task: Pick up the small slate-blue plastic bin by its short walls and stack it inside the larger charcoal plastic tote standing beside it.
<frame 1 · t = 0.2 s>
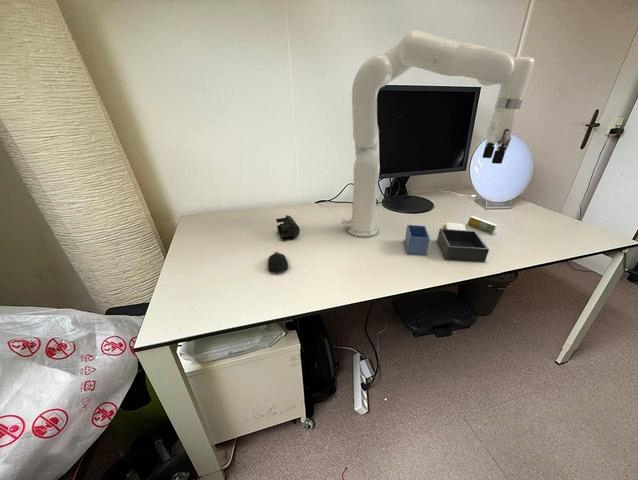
hand: (491, 160, 99), 31 cm above the table, tool pointing down, fingers open, 9 cm apart
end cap: (288, 235, 113), on the table
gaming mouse: (277, 263, 94), on the table
hard drive: (455, 232, 121), on the table
blue bin: (414, 247, 107), on the table
medication box: (480, 229, 124), on the table
tote: (459, 250, 106), on the table
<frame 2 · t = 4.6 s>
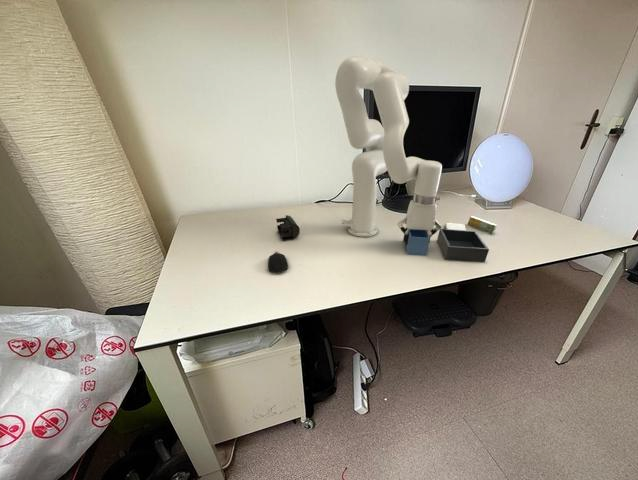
hand: (415, 243, 106), 2 cm above the table, tool pointing down, fingers closed on blue bin, 7 cm apart
blue bin: (415, 247, 107), on the table, touching gripper
everything else where it was.
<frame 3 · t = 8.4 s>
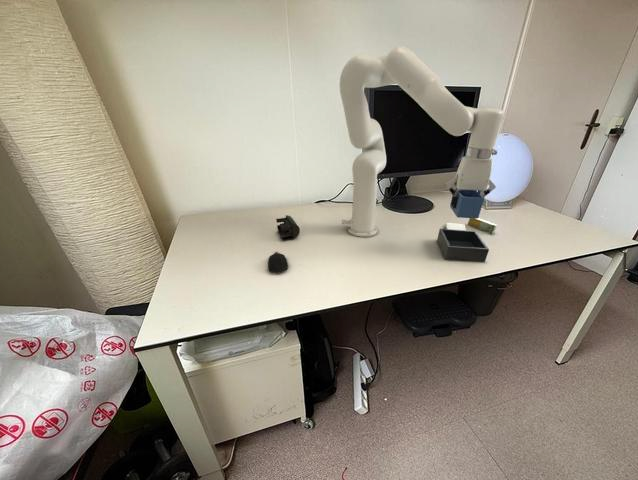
hand: (464, 207, 97), 17 cm above the table, tool pointing down, fingers closed on blue bin, 7 cm apart
blue bin: (463, 212, 98), point 15 cm above the table, touching gripper
everything else where it was.
when the fingers open (3 cm above the table, at t = 12.5 s): blue bin stays where it is, resting on tote.
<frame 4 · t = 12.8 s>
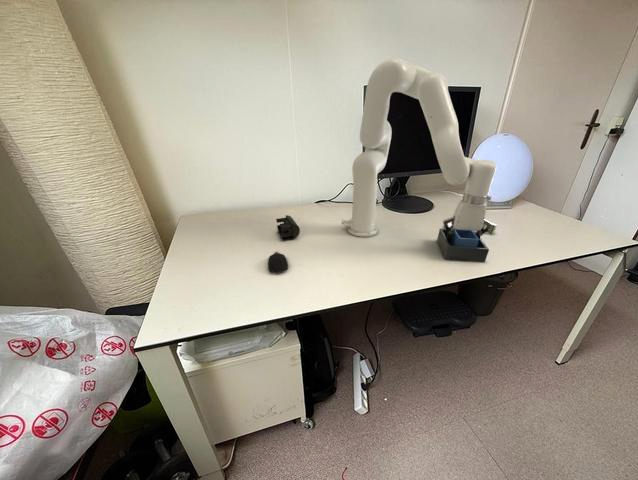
hand: (461, 242, 104), 3 cm above the table, tool pointing down, fingers open, 9 cm apart
blue bin: (460, 249, 106), point 1 cm above the table, touching tote
everything else where it was.
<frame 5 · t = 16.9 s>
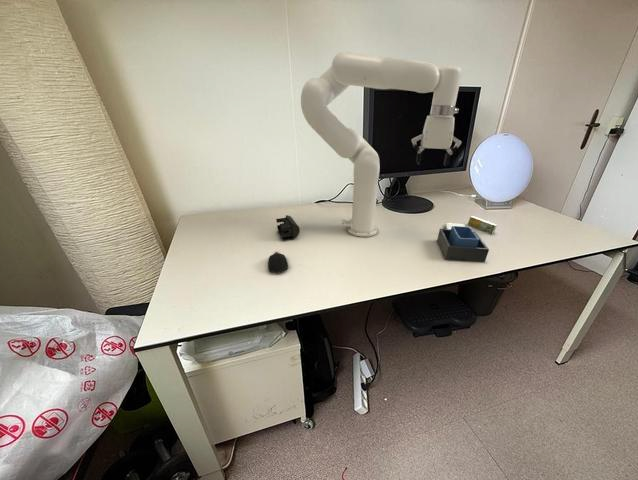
hand: (431, 165, 102), 28 cm above the table, tool pointing down, fingers open, 9 cm apart
nothing on the table moved.
at the end: blue bin 0.1 cm off-centre in the tote, point 0.8 cm above the tote's base; blue bin tilted 0°; the gripper is holding nothing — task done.
